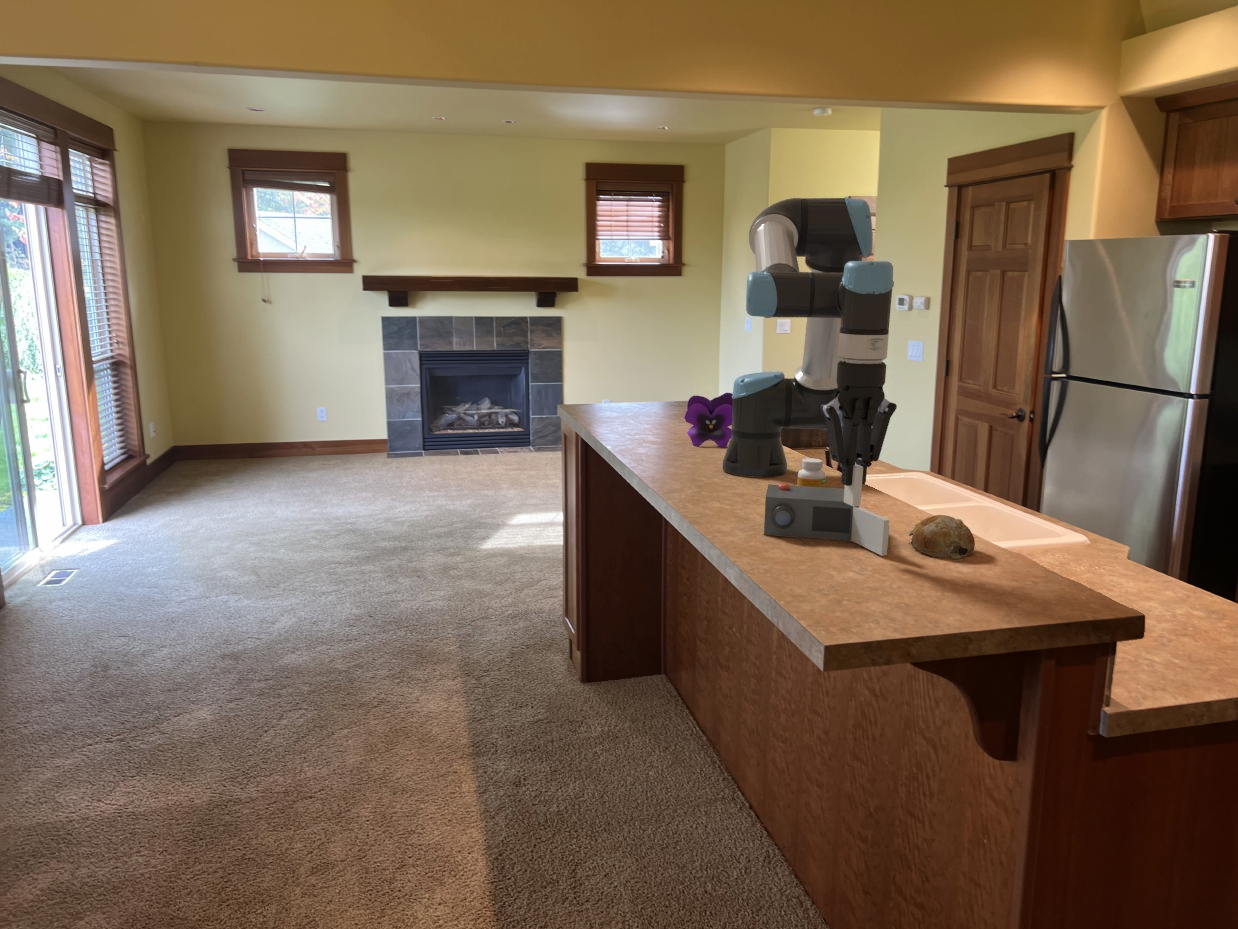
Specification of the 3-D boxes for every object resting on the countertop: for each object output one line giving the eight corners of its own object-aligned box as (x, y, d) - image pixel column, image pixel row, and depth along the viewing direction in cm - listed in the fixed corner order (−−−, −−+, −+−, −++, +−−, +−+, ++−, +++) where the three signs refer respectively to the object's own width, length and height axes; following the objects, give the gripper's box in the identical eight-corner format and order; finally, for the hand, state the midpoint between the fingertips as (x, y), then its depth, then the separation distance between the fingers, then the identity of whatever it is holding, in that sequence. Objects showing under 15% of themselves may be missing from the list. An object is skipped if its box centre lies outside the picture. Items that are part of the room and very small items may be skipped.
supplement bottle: (823, 511, 175) (826, 463, 173) (796, 510, 176) (798, 462, 174) (823, 505, 180) (826, 458, 178) (796, 503, 182) (798, 456, 180)
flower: (685, 457, 252) (681, 443, 240) (688, 408, 256) (685, 391, 244) (737, 460, 250) (736, 445, 237) (739, 409, 254) (739, 392, 241)
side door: (881, 556, 146) (884, 519, 145) (849, 540, 155) (851, 505, 154) (889, 555, 147) (892, 518, 146) (857, 539, 156) (859, 504, 154)
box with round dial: (766, 520, 169) (768, 480, 167) (853, 526, 165) (856, 485, 164) (763, 537, 157) (765, 494, 156) (856, 543, 154) (859, 500, 153)
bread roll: (931, 580, 147) (951, 544, 142) (892, 540, 154) (910, 504, 150) (973, 572, 151) (994, 536, 147) (933, 533, 159) (952, 498, 154)
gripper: (838, 364, 136) (829, 513, 141) (911, 361, 140) (899, 506, 145) (813, 358, 142) (805, 500, 148) (883, 356, 146) (872, 495, 152)
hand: (851, 503), depth 146 cm, fingers closed
